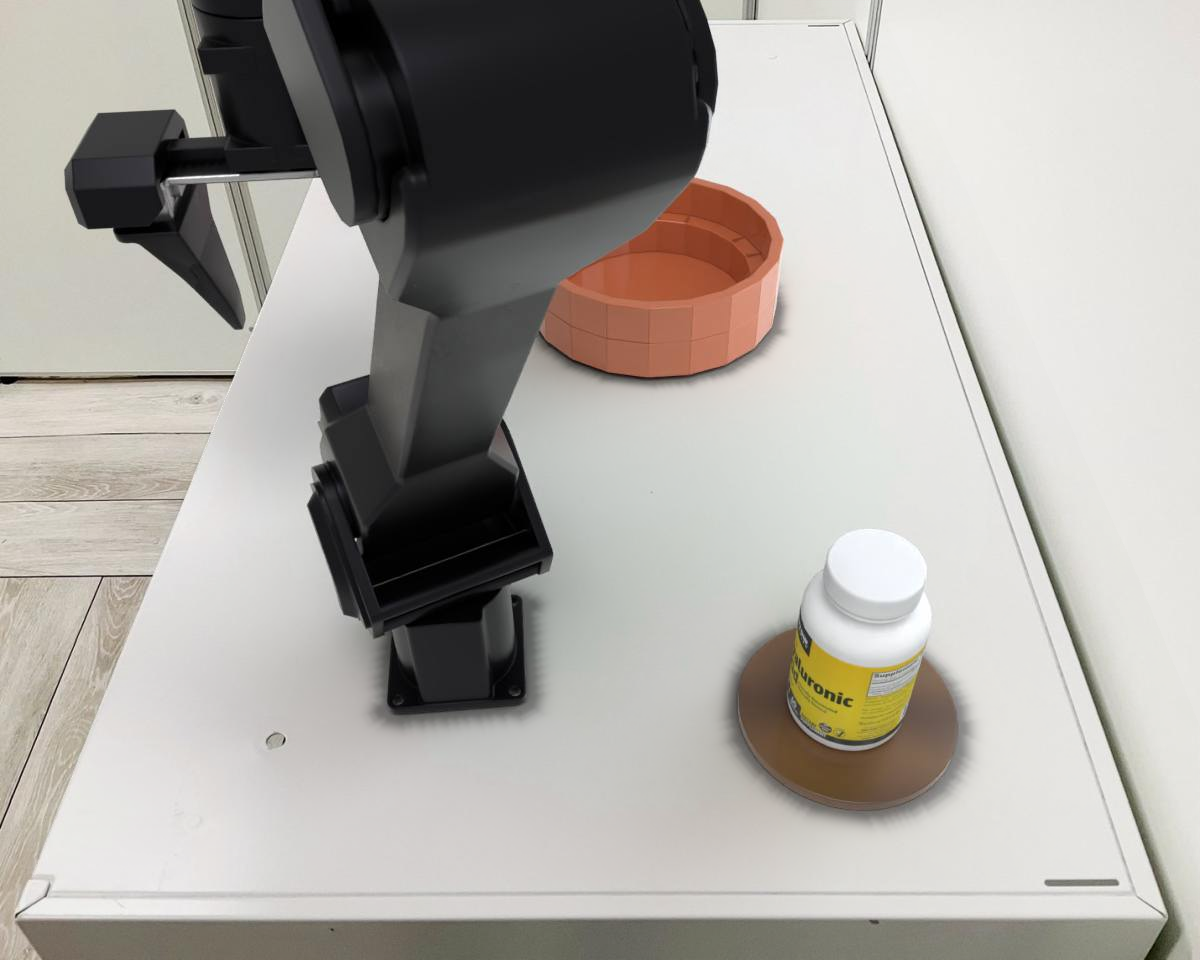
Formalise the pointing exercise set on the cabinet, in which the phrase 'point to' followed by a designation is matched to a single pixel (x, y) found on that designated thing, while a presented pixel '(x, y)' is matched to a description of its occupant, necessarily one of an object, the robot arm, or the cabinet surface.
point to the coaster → (838, 773)
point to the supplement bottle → (859, 641)
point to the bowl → (675, 290)
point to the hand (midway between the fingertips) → (335, 319)
